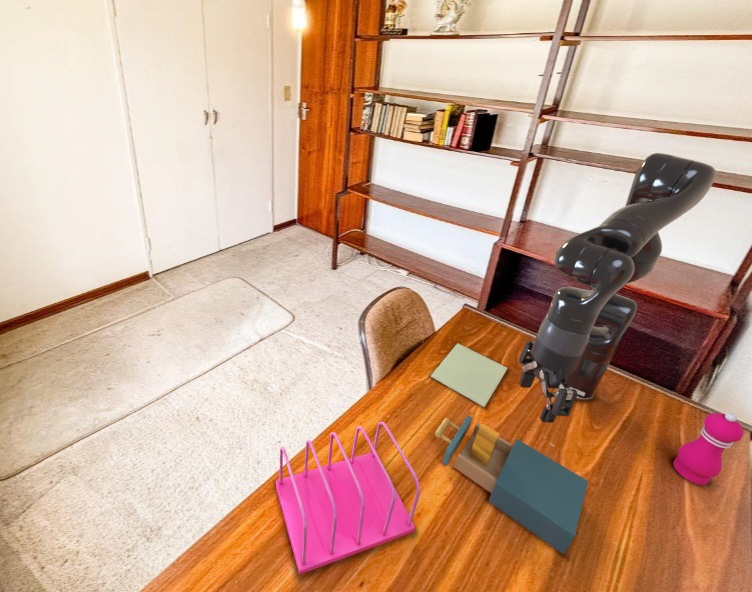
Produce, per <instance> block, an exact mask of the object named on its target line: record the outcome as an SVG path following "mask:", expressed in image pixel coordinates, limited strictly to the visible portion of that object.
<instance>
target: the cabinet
mask: <svg viewBox="0 0 752 592" xmlns="http://www.w3.org/2000/svg"><path fill="white" fill-rule="evenodd" d="M512 445H513V447H512V449H511V451H510V454H509V456H508V458H507V460H506V462H505V464H504V466H503V469H502V471H501V473H500V475H499V477H498V479H497V481H496V484H495V486H494V489H493V491H492V493H490V496H489V499H488V503H490V504H492V505H493V506H494V507H495V508H497V509H499V510H500V511H501V512H502V513H504V514H506V515H507V516H508V517H509V518H511V519H512V520H514V521H515V522H517V523H518V524H519V525H521V526H522V527H524V528H525V529H527V530H528V531H530V532H531V533H532V534H534V535H535V536H536V537H538V538H539V539H541V540H542V541H544V542H545V543H546V544H548V545H549V546H550V547H552V548H553V549H555V550H556V551H557V552H559V553H561V554H562V555H564V554H565V553H566V551H567V550H568V548H569V546H570V545H571V543H572V541H573V540H574V538H575V536H576V533H577V529H578V525H579V521H580V517H581V513H582V512H581V511H582V508H583V505H584V501H585V496H586V492H587V489H588V485H589V480H587V479H586V478H584V477H582V476H581V475H579V474H577V473H576V472H574V471H572V470H571V469H569V468H567V467H565V466H564V465H562V464H560V463H559V462H557V461H555V460H554V459H552V458H551V457H548V456H546V455H545V454H543V453H542V452H540V451H539V450H536V449H535V448H533V447H531V446H530V445H528V444H526V443H525V442H524V441H522V440H520V439H518V438H516V439H515V441H514V443H513V444H512Z"/></svg>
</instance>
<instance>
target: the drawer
mask: <svg viewBox="0 0 752 592" xmlns="http://www.w3.org/2000/svg"><path fill="white" fill-rule="evenodd" d="M472 420H473V416H471V415H469V414H467V416H466V417H465V418H464V420H463V422H462V423H461V425H460V427H459V426H458V425H457V424H455V423H453V422H452V421H451V420H450V418H449V417H444V419H443V420H442V422H441V423H440V424H439V426H438V428H437V429H436V430H435V432H434V436H435V438H438V439H439V438H441V439H442V440H444V441H445V442H447V443H448V446H447V447H446V448H445V452H444V455H443V458H442V462H441V464H443V465H444V466H446V467H447V466H448V465H449V463H450V462H451V460H452V458H453V457H454V456H455V454H456V452H457V450H458V449H459V447H460V445H461V444H462V442H463V441H464V439H465V437H466V435H467V434H468V432H469V430H470V427H471V423H472ZM481 425H482V424H479V423H477V422H476V423H475V425H474V429H473V430H472V431H473V432H472V434H471V435H470V438H469V439H468V441H467V442H466V445H465V446H464V448H463V449H462V451H461V453H457V456H456V459H455V462H454V465H453V468H454V469H456V470H457V471H458V472H460V473H461V474H463V475H464V476H465V477H467V478H469V479H470V480H471V481H473V482H474V483H476V484H477V485H478V486H479V487H481V488H483V489H484V490H485V491H487V492H489V493H490V494H492V491H493V489H494V486H495V484H496V481H497V479H498V477H499V475H500V473H501V471H502V469H503V466H504V464H505V462H506V460H507V458H508V456H509V454H510V451H511V449H512V447H513V445H514V444H512V443H511V442H509V441H508V440H506V439H505V438H502V437H501V436H499V438H498V441H497V443H496V446H495V448H494V451H493V454H492V456H491V459H490V461H489V463H488V465H487V467H486V468H485V467H484V466H482V465H481V464H479V463H478V462H476V461H475V460H473V459H472V458H470V457H469V455H470V452H471V449H472V446H473V443H474V441H475V438H476V435H477V432H478V430H479V428H480V426H481ZM448 426H450V427H452V428H454V429H455V430H457V431H456V433H455V435H454V437H453V438H452V439H450V438H449V437H447V436H446V435H444V434H443V433H444V432H445V430H446V429H447V427H448Z"/></svg>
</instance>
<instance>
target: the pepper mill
mask: <svg viewBox="0 0 752 592" xmlns="http://www.w3.org/2000/svg"><path fill="white" fill-rule="evenodd" d="M743 437H744V428H743V426H742V425H741V424H740V422H739V421H738V417H737V415H736V414H734V413H732V412H727V413H721V412H713V413H710V414H707V415H706V417H704V420H703V426H702V428H701V429H700V436H699V437H698V438H696V439H695V440H692V441H688V442H686V443H684V444H682V445H681V446H680V447H679V448H678V449H677V456H676V458H675V459H674V461H673V462H672V465H673V467H674V469H675V471H676V472H678V474H679V475H680V476H682V477H683V478H684V479H685V480H687V481H688V482H690V483H692V484H695V485H698V486H699V485H700V486H705V485H707V484H708V483H709V482H710V481H711V479H712V478H715V477H717V476H719V475H720V473H721V471H722V468H723V463H722V461H723V460H722V456H723V453H724V450H725V449H730V448H731V447H732V445H734V443H737V442H739V441H741V440H742V439H743Z"/></svg>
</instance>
